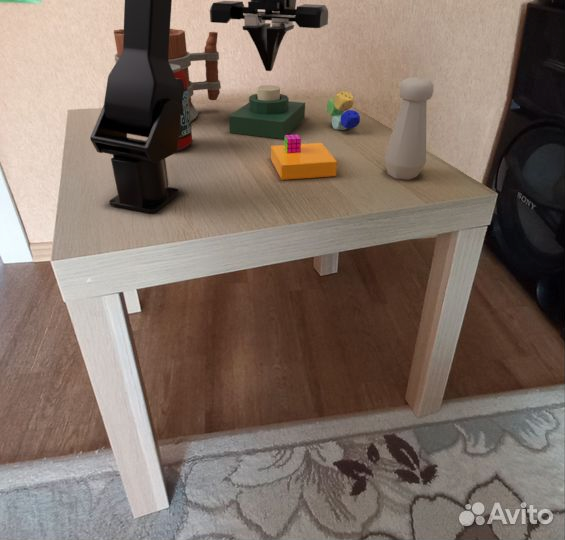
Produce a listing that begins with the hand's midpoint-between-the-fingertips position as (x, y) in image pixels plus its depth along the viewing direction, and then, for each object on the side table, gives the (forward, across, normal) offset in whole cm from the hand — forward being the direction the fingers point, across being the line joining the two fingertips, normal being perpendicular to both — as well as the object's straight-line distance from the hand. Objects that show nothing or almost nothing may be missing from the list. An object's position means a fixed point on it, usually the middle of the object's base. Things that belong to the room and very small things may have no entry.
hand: (268, 70), depth 81 cm
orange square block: (+10, -12, +18) cm, 23 cm away
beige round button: (+5, 0, 0) cm, 5 cm away
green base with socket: (+9, 0, 0) cm, 9 cm away
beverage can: (+10, +11, +16) cm, 22 cm away
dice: (+10, -13, -3) cm, 16 cm away
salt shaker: (+10, -26, +15) cm, 32 cm away
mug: (+10, +19, +1) cm, 21 cm away
